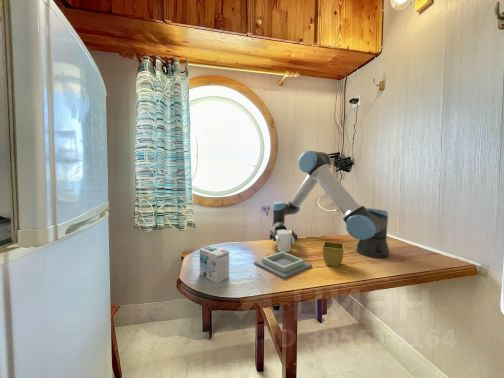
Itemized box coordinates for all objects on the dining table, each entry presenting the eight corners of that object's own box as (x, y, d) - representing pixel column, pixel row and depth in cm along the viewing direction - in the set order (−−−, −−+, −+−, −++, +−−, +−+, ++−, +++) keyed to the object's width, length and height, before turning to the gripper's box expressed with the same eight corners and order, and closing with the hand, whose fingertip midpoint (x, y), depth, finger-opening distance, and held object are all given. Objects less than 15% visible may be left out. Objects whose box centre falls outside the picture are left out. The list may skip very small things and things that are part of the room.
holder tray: (311, 266, 99) (312, 260, 99) (284, 279, 88) (284, 271, 88) (281, 254, 113) (281, 249, 113) (254, 264, 102) (254, 257, 102)
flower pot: (321, 266, 100) (322, 246, 100) (323, 259, 108) (323, 240, 108) (342, 269, 97) (343, 249, 96) (342, 262, 105) (343, 243, 104)
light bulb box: (199, 275, 91) (198, 248, 90) (212, 269, 96) (211, 244, 95) (217, 283, 84) (216, 255, 83) (229, 277, 89) (229, 250, 88)
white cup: (291, 253, 116) (291, 234, 115) (275, 252, 117) (276, 233, 116) (291, 248, 123) (292, 230, 122) (277, 247, 125) (277, 229, 124)
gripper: (296, 236, 138) (305, 249, 115) (263, 235, 138) (265, 248, 115) (297, 224, 137) (305, 234, 114) (263, 223, 137) (265, 234, 115)
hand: (285, 241), depth 115 cm, fingers closed on white cup, 8 cm apart
